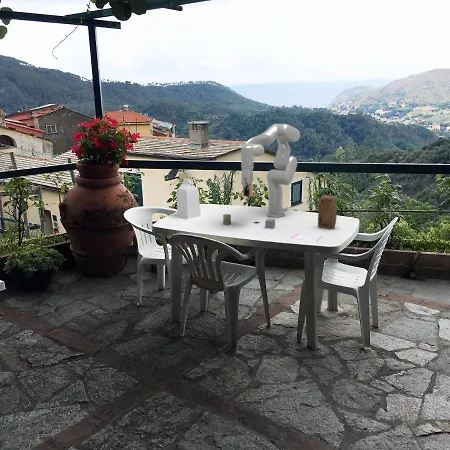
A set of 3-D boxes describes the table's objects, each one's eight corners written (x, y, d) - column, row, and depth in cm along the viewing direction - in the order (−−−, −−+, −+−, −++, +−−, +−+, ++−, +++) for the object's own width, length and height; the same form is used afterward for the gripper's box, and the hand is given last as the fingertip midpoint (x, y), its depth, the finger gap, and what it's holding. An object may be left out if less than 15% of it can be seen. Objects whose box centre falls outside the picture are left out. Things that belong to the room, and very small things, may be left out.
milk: (177, 216, 317) (175, 179, 310) (190, 213, 325) (188, 177, 318) (187, 219, 309) (185, 181, 302) (200, 215, 316) (199, 179, 309)
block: (337, 227, 280) (338, 195, 274) (333, 230, 273) (334, 197, 268) (320, 224, 285) (321, 193, 280) (316, 227, 279) (316, 196, 274)
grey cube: (267, 226, 286) (267, 218, 285) (275, 226, 285) (275, 219, 283) (265, 228, 282) (265, 220, 280) (273, 228, 280) (273, 221, 279)
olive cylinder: (228, 222, 297) (227, 213, 295) (232, 224, 293) (232, 215, 291) (221, 224, 294) (221, 215, 292) (226, 225, 290) (226, 216, 288)
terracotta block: (245, 194, 286) (245, 183, 284) (253, 195, 285) (252, 184, 283) (243, 196, 282) (242, 185, 280) (250, 196, 280) (250, 185, 278)
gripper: (246, 163, 287) (246, 191, 292) (237, 167, 272) (238, 197, 277) (257, 164, 284) (257, 192, 289) (249, 168, 269) (249, 198, 274)
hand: (248, 194), depth 283 cm, fingers closed on terracotta block, 5 cm apart
